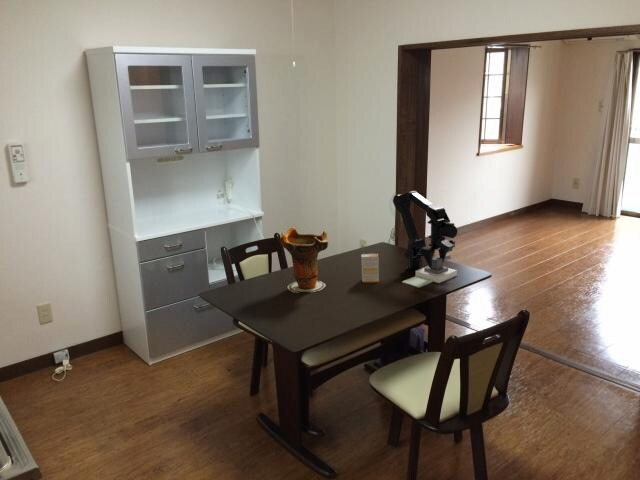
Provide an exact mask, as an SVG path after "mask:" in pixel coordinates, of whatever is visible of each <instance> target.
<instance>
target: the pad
mask: <svg viewBox="0 0 640 480" xmlns="http://www.w3.org/2000/svg"><path fill="white" fill-rule="evenodd" d="M401 282H402V284H406V285H410V286H413V287H414V288H415V287H416V288H419V289H420V288H421V287H424V286H427V285H429V284H430V283H433V282H434V281H431V280H427V279H424V278H420V277H417V276H413V277H410V278H407V279H405V280H403V281H401Z"/></svg>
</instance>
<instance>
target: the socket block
mask: <svg viewBox="0 0 640 480" xmlns="http://www.w3.org/2000/svg"><path fill="white" fill-rule="evenodd" d="M426 267H428V265H427V266H426ZM424 268H425V267H423V268H422V269H419V270H417V271H415V276H417V277H420V278H424V279H427V280H431V281H433V282H435V283H438V284H440V283H442V282H445V281H448V280H450V279H452V278H455V277H456V276H458V270H457V269H455V268H454V269H453V268H450V267H448V271H445V272H443V273H440V274H434V273H431V272H427V271H424ZM415 276H414V277H415Z"/></svg>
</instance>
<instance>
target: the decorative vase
mask: <svg viewBox="0 0 640 480" xmlns="http://www.w3.org/2000/svg"><path fill="white" fill-rule="evenodd" d="M327 236H328V233H327V230H323V232H322V233H321V234H316V233H299V232H298V231H297V228H296V227H295V226H293V227H290V228H288V230H287V232H286V233H285V232H282V233H281V237H280V238H279V242H280V245H281V246H282V248H284V249H285V250H286V251H287V252H289V254H290V256H291V261H292V262H291V263H292V269H293V274H292V277H291V279H293V278H294V279H295V281H294V282H292V283H290V284H288V285H287V286H286V287H287V289H288V290H289V291H291V292H292V293H298V294H299V293H315V292H318V291H322V290H323V289H324V288H325V287H326V286H327V285H326V283H324V282H322V280H321V281H320V280H318V277H319V272H318V258H319V253H320V252H322V251H325V250H327V248H328V246H329V241H328V237H327Z"/></svg>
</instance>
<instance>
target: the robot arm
mask: <svg viewBox="0 0 640 480" xmlns="http://www.w3.org/2000/svg"><path fill="white" fill-rule="evenodd" d="M392 203H393V205H394V208H395V209H396V211H398V212H399V213H400V216H401V219H402V223H403V225H404V228H405V232H406V235H407V238H408V243H407V248H408V249H407V250H406V251H405V252H404V257H405V258H406V259H407V266H406V267H405V269H407V270H410V271H414V272H416V271H417V270H419V269H422V268H424V267H423V260H422V257H423V258H424V260H425V261H426V263H427V264H426V265H427V266H429V267H430V268H431V267H432V258H434V257H436V255H435V254H436V253H435V252H436V251H438V253H439V254H438V255H439V256H438V257H440V258H442V264H444V262H445V260H444V259H445V257H446V255H448V253H449V252H452V251H453V249H454V248H455V247H456V240H455V239H454V238H456V237H457V235H458V228H457V227H456V225H455V223H454V222H451V220H450V218H449V216H448V213H447V212H446V209H445V208H444V207H443V206H441V205H438V204H434V203H432V202H430V201H429V200H428V199H426V198H425V197H424V196H423V195H421V194H419V192H417V190H411V191H407V192H405V193H401V194H396V195H394V196H393V199H392ZM412 203H413V204H415V205H416V206H417V207H419V209H421V210H423V211H424V212H425V214H426V216H427V218H428V219H429V220H428V221H427V224H429V225H430V235H428V239H430V243H428V246H427V245H426V241H425V239H424V238H421V237H420V236H419V233H418V231H417V228H416V224H415V222H414V221H415V220H414V218H413V215H412V213H411V207H412ZM446 238H449V240H448V239H446Z"/></svg>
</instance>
